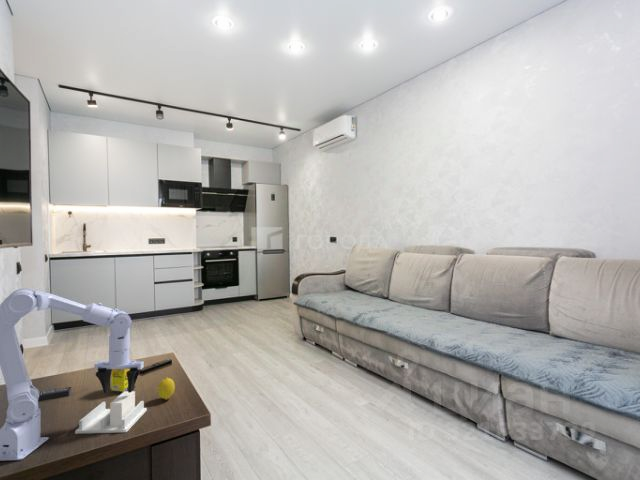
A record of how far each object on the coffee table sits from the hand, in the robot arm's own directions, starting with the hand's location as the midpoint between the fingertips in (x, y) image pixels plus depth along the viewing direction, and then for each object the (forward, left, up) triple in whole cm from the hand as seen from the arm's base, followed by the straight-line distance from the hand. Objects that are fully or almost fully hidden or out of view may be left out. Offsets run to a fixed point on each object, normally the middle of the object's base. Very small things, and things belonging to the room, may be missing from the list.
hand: (119, 391), depth 106 cm
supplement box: (+23, +10, -10) cm, 27 cm away
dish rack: (0, +1, -9) cm, 9 cm away
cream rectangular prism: (-1, -2, -9) cm, 9 cm away
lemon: (+14, -10, -10) cm, 19 cm away
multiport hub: (+18, +34, -10) cm, 40 cm away
